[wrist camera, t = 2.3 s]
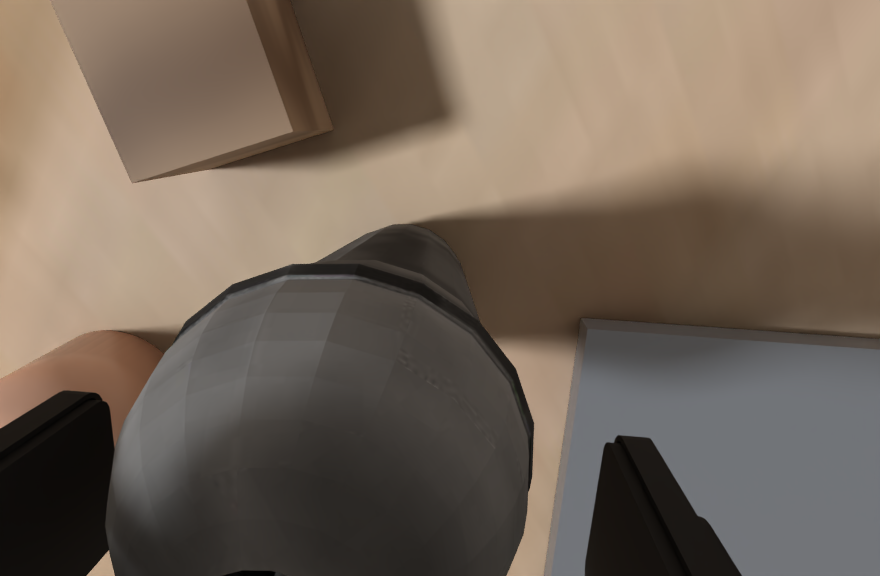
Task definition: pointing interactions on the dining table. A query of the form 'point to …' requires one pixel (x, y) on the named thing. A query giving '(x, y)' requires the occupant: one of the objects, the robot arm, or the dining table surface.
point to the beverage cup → (328, 428)
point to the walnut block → (195, 79)
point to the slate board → (733, 440)
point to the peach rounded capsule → (84, 374)
